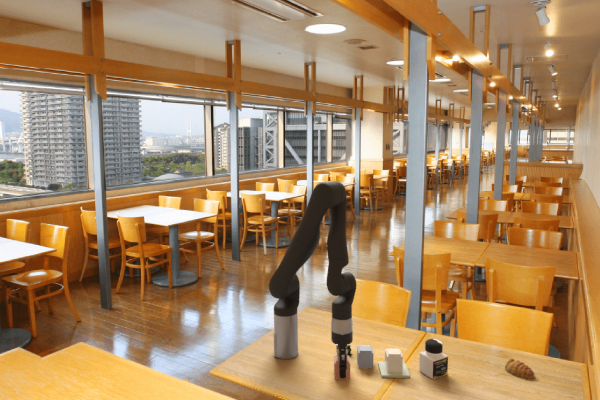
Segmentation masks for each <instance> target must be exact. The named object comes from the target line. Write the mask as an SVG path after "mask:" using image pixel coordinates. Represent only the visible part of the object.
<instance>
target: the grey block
mask: <svg viewBox="0 0 600 400" xmlns="http://www.w3.org/2000/svg"><path fill="white" fill-rule="evenodd" d="M356 361H357V367H358V369H374V349H373V346H372V345H369V344H367V345H366V344H365V345H363V344H362V345H361V344H359V345H357V346H356Z"/></svg>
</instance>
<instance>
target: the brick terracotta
mask: <svg viewBox="0 0 600 400" xmlns="http://www.w3.org/2000/svg"><path fill="white" fill-rule="evenodd" d="M341 365H345V364H341ZM333 375H334V380H351V359H350V357H349V356H348V355H347V370H346V378H340V374H339V361H338V355H337V354H335V355H333Z"/></svg>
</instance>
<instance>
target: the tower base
mask: <svg viewBox="0 0 600 400" xmlns="http://www.w3.org/2000/svg"><path fill="white" fill-rule="evenodd" d="M403 358H404V356H403V353H402V351H401V349H400V348H385V349H384V361H377V365H378V368H379V373H380V376H381V378H388V379H389V378H398V379H399V378H402V379H403V378H411V374H410V372H409V370H408V369H409V368H408V366H407V364H406V362H405V361H403V360H404V359H403Z"/></svg>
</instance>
